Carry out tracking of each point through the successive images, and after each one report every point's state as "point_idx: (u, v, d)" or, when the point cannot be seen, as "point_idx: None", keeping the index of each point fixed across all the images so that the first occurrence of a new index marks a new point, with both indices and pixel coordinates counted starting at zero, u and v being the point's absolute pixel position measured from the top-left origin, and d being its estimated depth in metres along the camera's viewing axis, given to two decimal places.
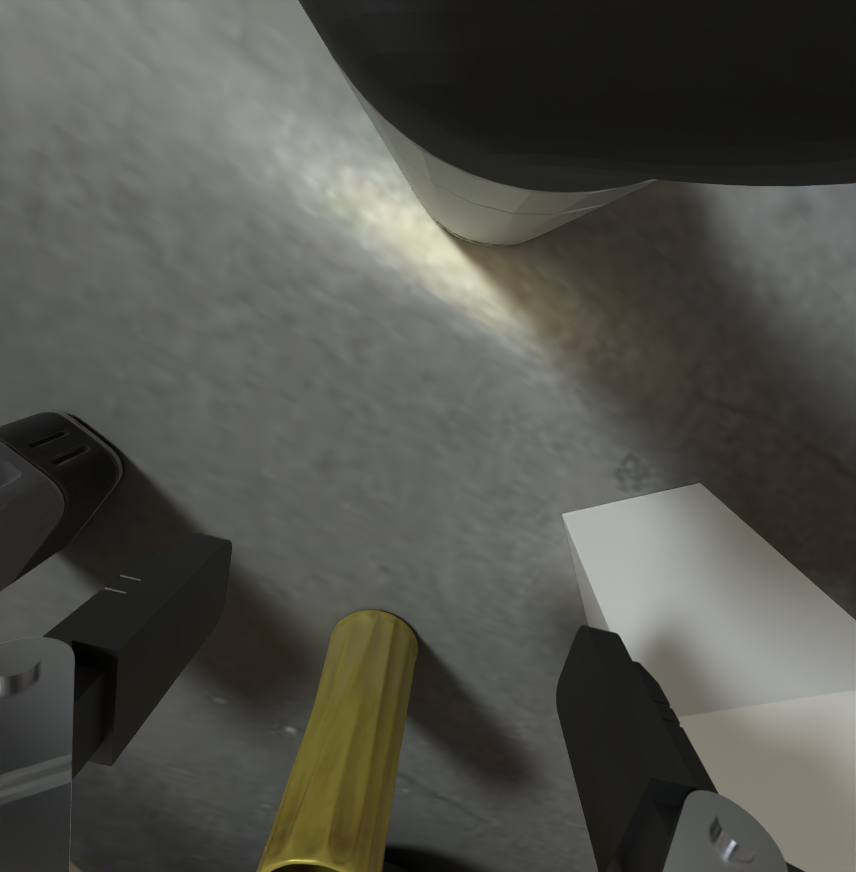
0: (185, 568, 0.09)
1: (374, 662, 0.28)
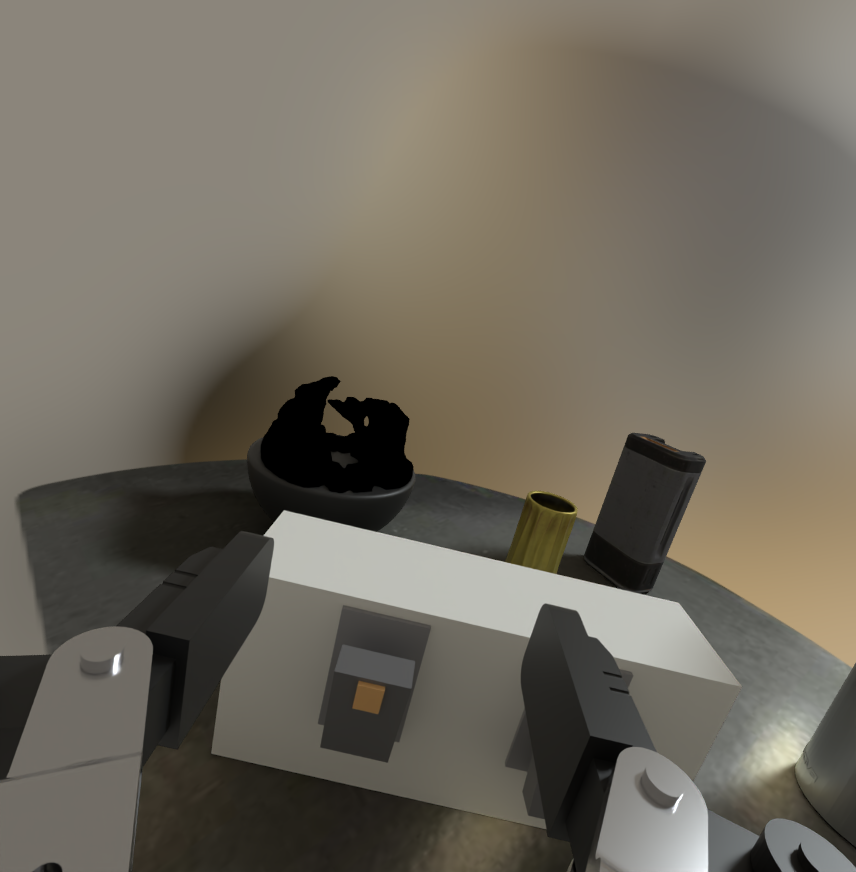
0: (237, 564, 0.09)
1: None
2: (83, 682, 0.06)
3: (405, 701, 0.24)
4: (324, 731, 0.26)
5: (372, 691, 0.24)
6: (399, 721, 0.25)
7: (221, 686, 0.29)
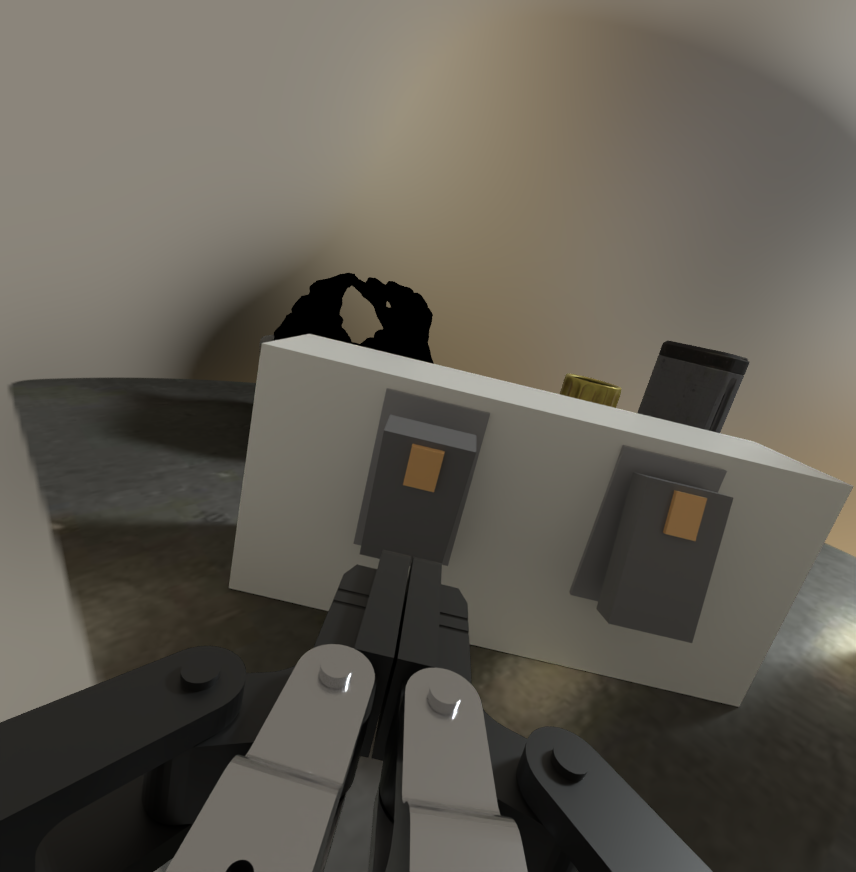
0: (396, 583, 0.10)
1: None
2: (333, 699, 0.07)
3: (467, 473, 0.20)
4: (366, 528, 0.22)
5: (429, 455, 0.20)
6: (457, 506, 0.21)
7: (242, 499, 0.25)
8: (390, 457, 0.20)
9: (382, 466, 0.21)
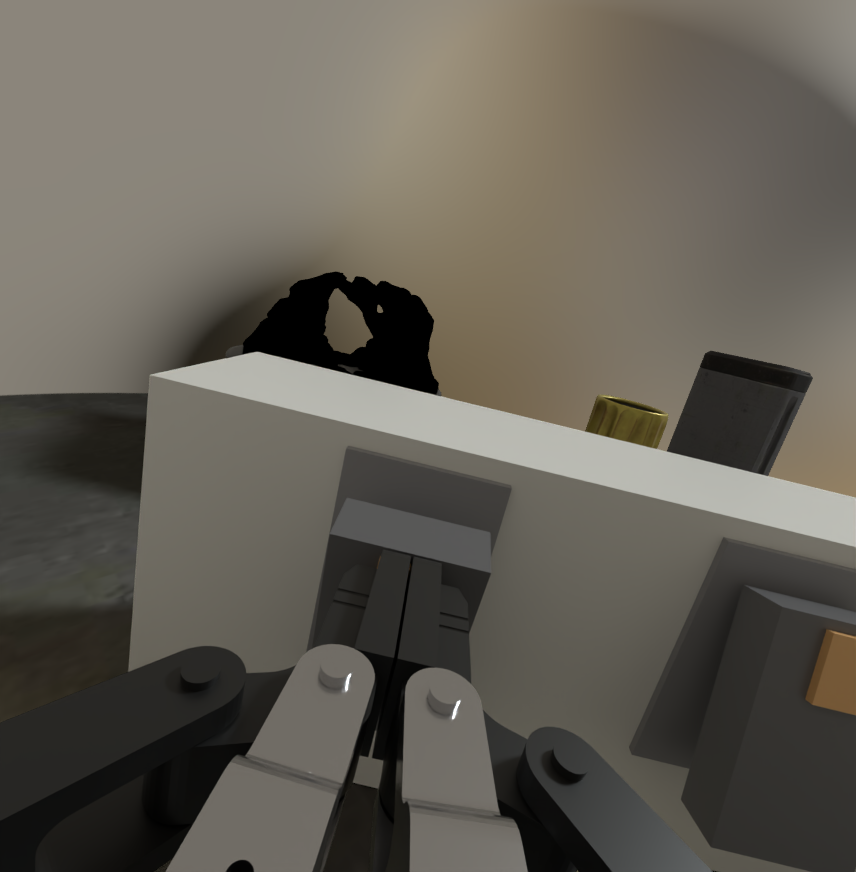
0: (396, 583, 0.10)
1: None
2: (333, 698, 0.07)
3: (475, 604, 0.12)
4: None
5: None
6: None
7: (135, 606, 0.17)
8: None
9: (330, 589, 0.12)
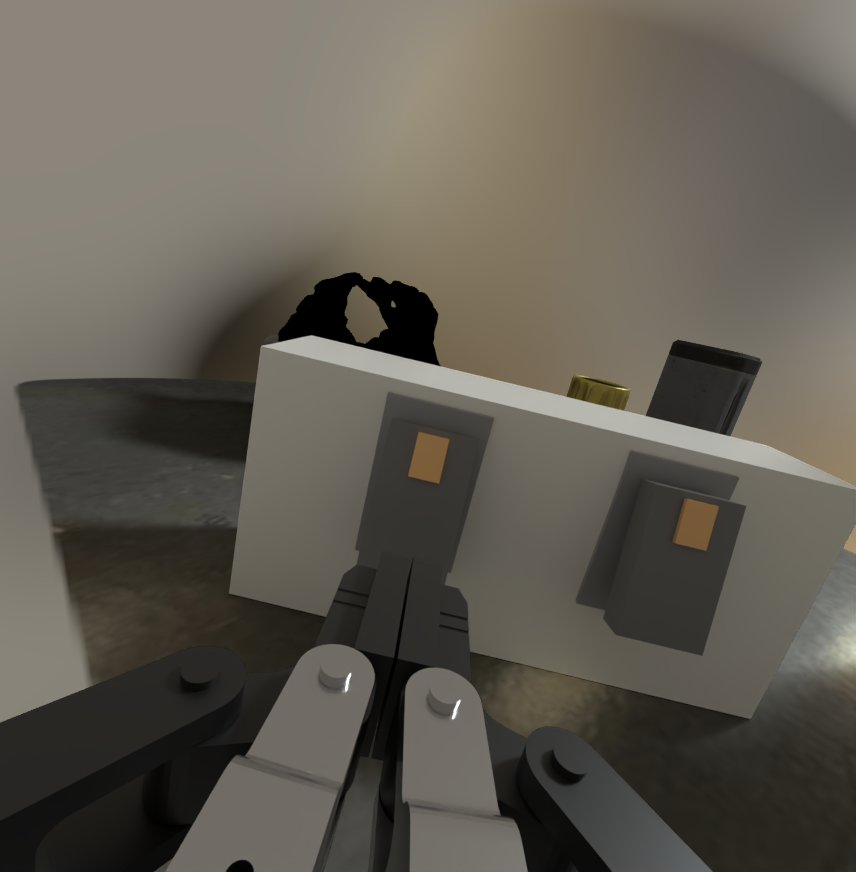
0: (396, 583, 0.10)
1: None
2: (334, 698, 0.07)
3: (471, 463, 0.21)
4: (364, 536, 0.21)
5: (435, 441, 0.21)
6: (462, 502, 0.21)
7: (241, 504, 0.25)
8: (396, 448, 0.21)
9: (387, 458, 0.21)
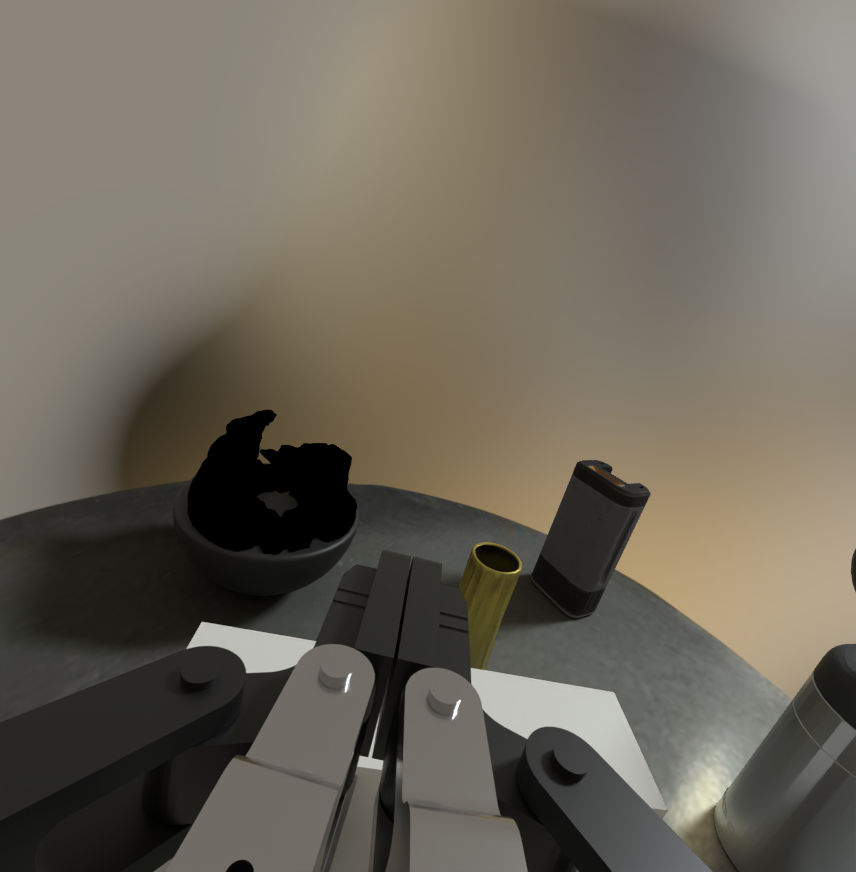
0: (396, 583, 0.10)
1: (490, 647, 0.50)
2: (334, 698, 0.07)
3: (332, 842, 0.24)
4: None
5: None
6: None
7: None
8: None
9: None
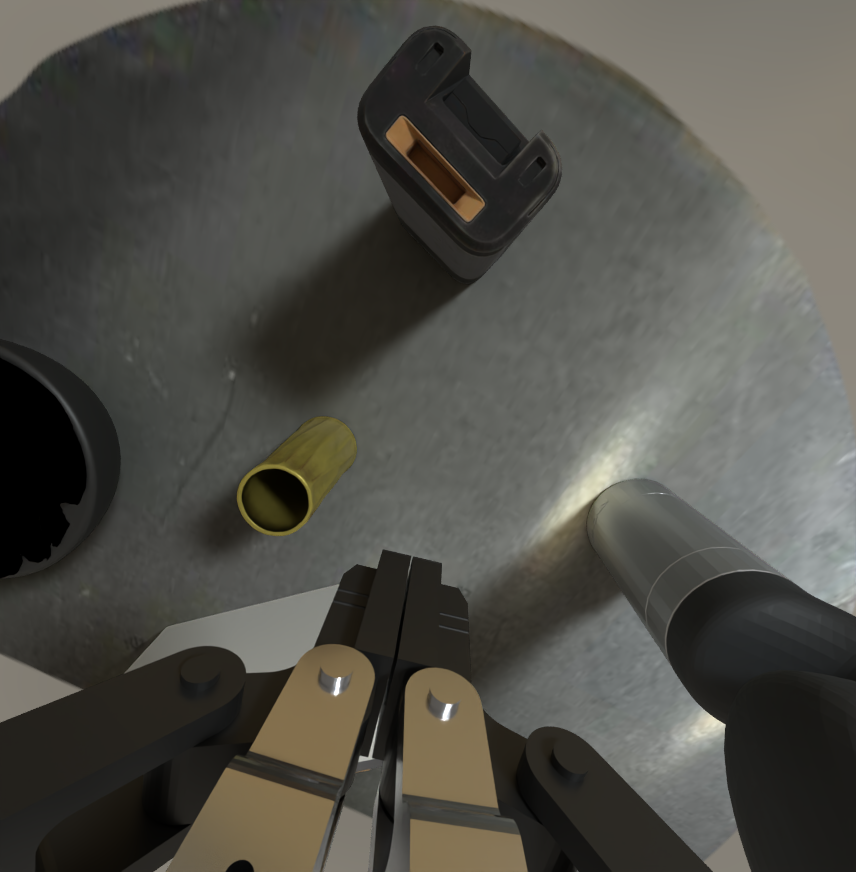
0: (396, 583, 0.10)
1: (343, 468, 0.42)
2: (334, 698, 0.07)
3: None
4: None
5: None
6: None
7: None
8: None
9: None
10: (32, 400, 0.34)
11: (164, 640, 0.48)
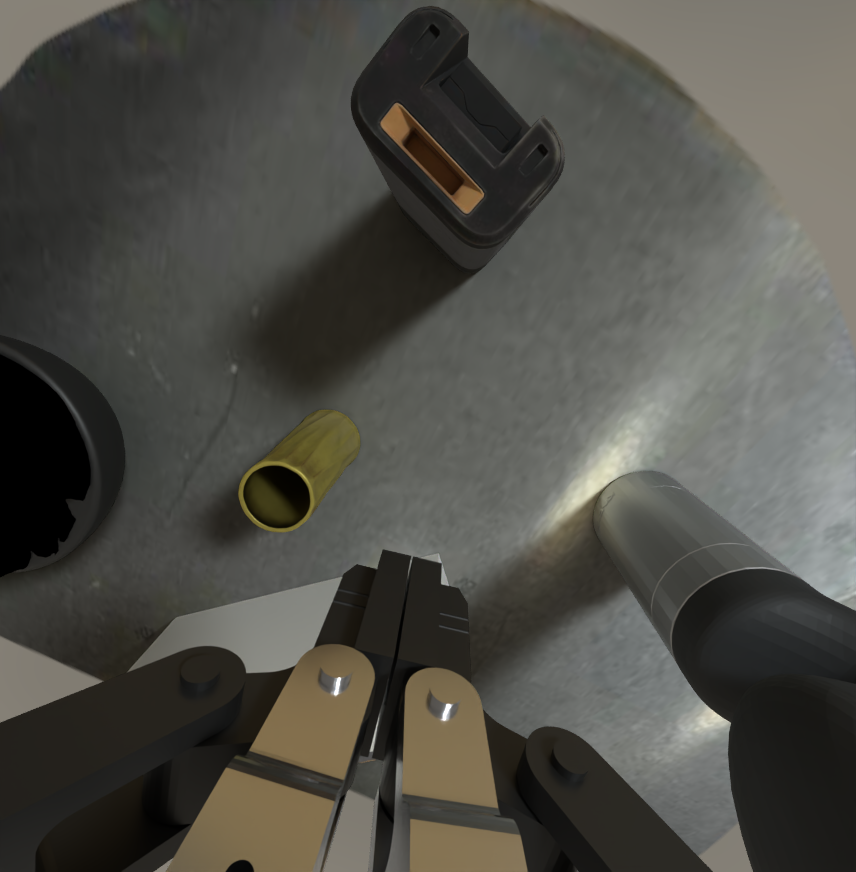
0: (396, 583, 0.10)
1: (346, 461, 0.42)
2: (334, 698, 0.07)
3: None
4: None
5: None
6: None
7: None
8: None
9: None
10: (34, 397, 0.34)
11: (173, 631, 0.49)
